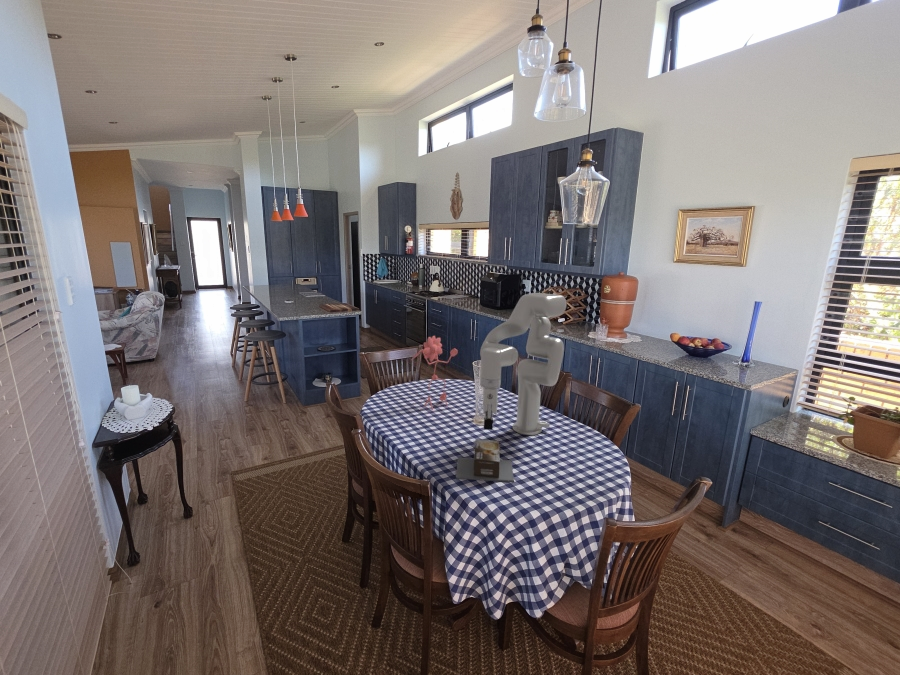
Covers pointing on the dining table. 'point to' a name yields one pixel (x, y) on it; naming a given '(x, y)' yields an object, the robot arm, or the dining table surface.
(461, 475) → the mat
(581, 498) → the dining table surface
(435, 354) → the pink stick figure toy
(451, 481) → the dining table surface
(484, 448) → the coffee box
